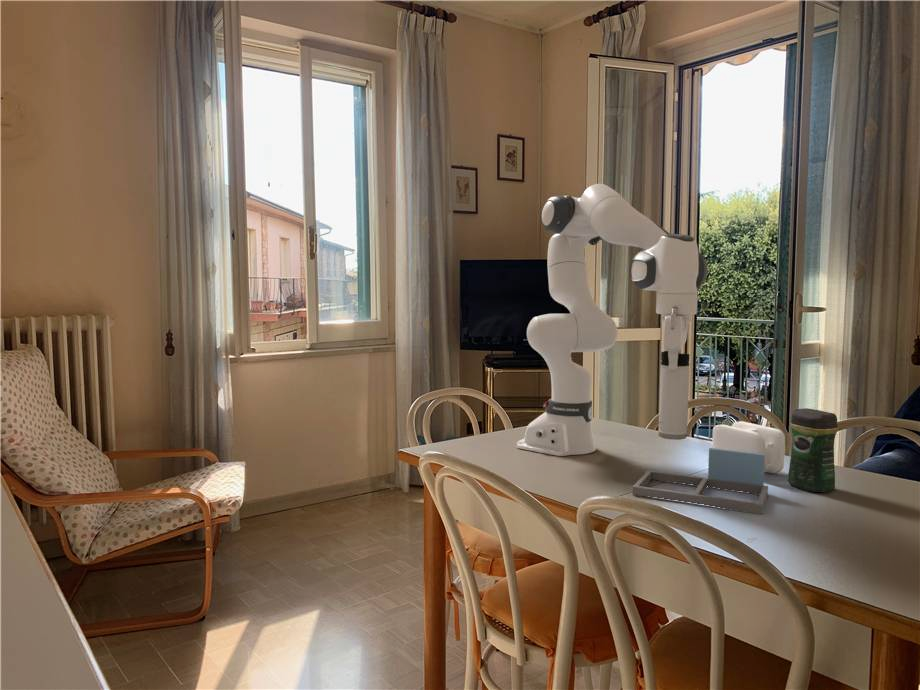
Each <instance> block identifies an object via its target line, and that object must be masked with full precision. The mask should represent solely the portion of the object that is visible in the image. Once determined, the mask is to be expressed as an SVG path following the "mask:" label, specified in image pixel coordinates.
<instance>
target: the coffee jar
mask: <svg viewBox="0 0 920 690" xmlns="http://www.w3.org/2000/svg"><path fill="white" fill-rule="evenodd" d="M789 425H790V430H791V436H792V437H791V438H792V441H791V442H792V443H791V449H790V450H791V452H790V460H789V466H788V467H789V468H788V477H787V483H788V484H789V486H793V487H795V488H797V487H798V489H801V490H803V489H804V491H807V492H814V493H818V492H819V493H830V492H831V491H833V490H835V488H836V471H835V438H836V435H837V433H838V429H839V426H838V417H837V415H836V414H835V413H833V412H828V411H823V410H820V409H813V408H807V407H806V408H795V409H794V410H793V411H792V414H791V419H790V424H789Z"/></svg>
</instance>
